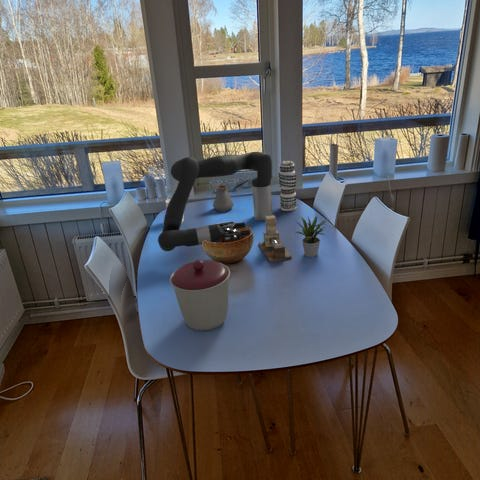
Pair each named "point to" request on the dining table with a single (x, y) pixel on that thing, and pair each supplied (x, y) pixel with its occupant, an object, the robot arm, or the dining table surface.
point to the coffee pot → (224, 198)
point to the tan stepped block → (270, 231)
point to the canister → (202, 293)
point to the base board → (275, 252)
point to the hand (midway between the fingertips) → (247, 228)
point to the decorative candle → (287, 186)
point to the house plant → (311, 236)
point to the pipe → (274, 241)
